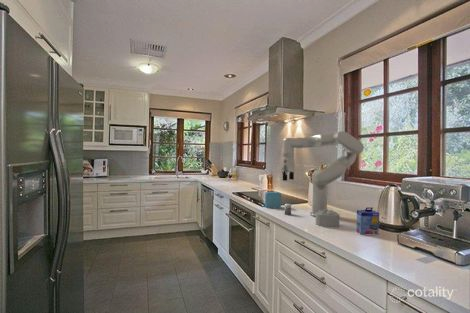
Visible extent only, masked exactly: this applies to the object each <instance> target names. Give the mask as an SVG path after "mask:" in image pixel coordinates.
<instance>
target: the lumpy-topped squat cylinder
mask: <svg viewBox="0 0 470 313" xmlns="http://www.w3.org/2000/svg"><path fill="white" fill-rule="evenodd" d="M340 215H341V214H340V213H338V212H337V211H334V209H333V210H332V209H330V210H329V209H328V211H327V210H326V209H323V210H320V211H319V212H316V217H315V226H317V225H318V226H317V227H321V226H322V227H323V228H328V227H336V228H339V227H340V220H341V219H340ZM322 227H321V228H322Z"/></svg>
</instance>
